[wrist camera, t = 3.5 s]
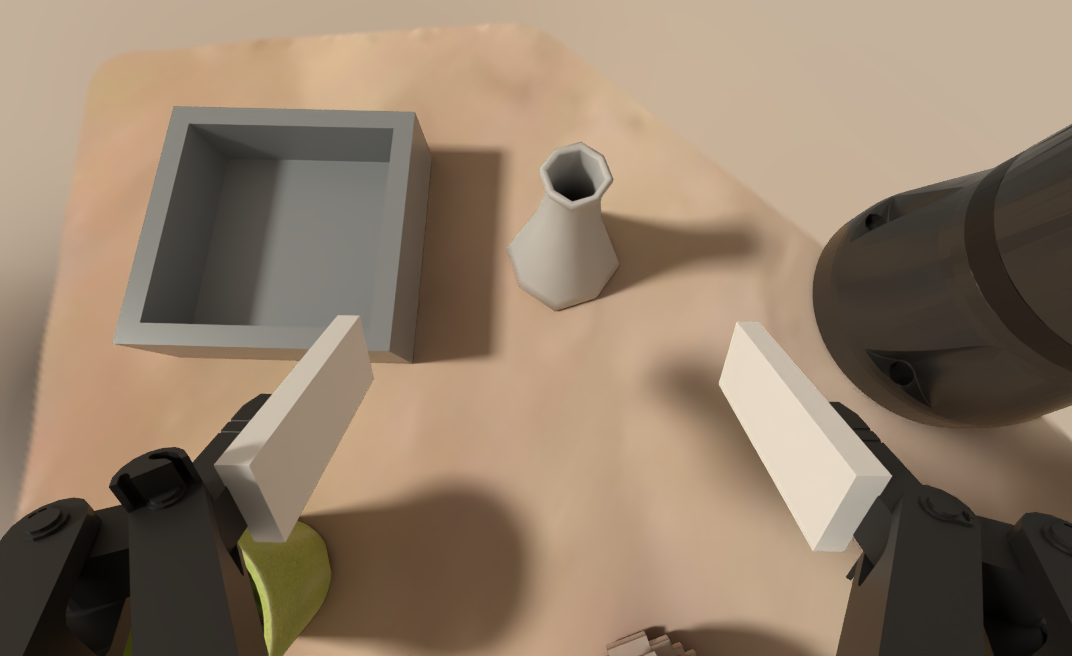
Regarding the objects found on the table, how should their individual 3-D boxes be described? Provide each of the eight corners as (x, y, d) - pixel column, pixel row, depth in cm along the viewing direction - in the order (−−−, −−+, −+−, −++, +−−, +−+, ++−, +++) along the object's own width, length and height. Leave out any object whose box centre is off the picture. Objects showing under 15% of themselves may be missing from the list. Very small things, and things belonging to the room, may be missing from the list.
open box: (432, 156, 31) (415, 112, 27) (412, 363, 28) (389, 351, 23) (224, 151, 31) (173, 106, 27) (179, 357, 28) (112, 343, 23)
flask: (572, 191, 30) (590, 79, 21) (637, 269, 29) (689, 189, 19) (488, 247, 29) (465, 158, 20) (551, 330, 28) (560, 279, 18)
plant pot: (306, 703, 23) (175, 858, 15) (163, 620, 24) (-36, 721, 16) (391, 534, 25) (319, 586, 17) (256, 462, 26) (123, 478, 18)
